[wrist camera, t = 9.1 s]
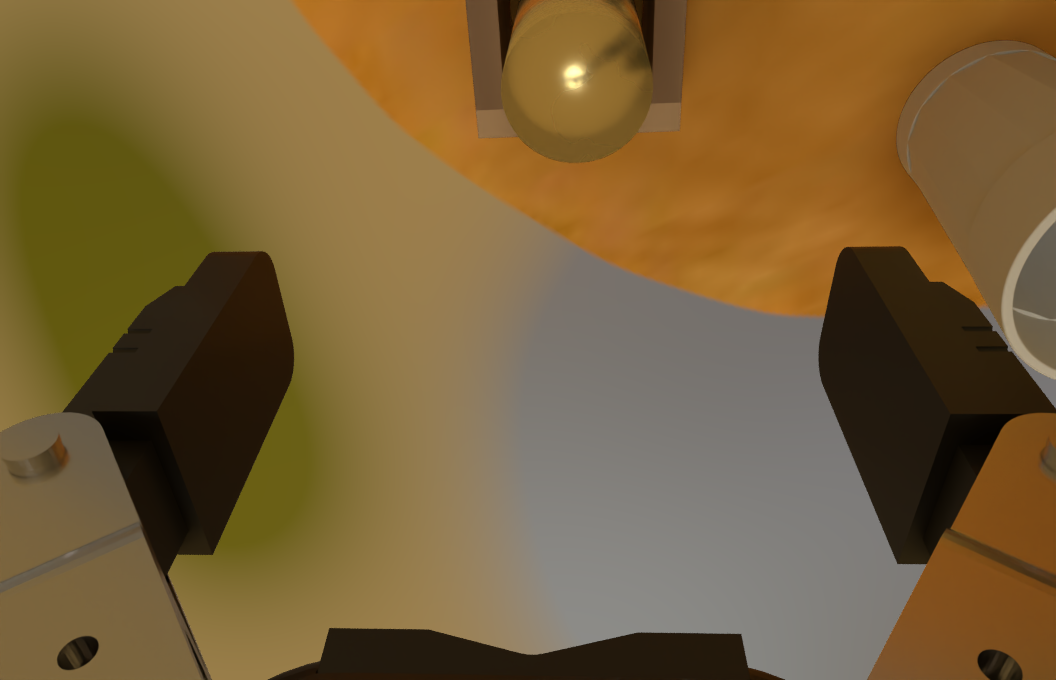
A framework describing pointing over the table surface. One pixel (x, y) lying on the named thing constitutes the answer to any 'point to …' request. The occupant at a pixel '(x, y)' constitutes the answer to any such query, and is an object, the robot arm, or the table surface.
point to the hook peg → (576, 77)
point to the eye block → (660, 38)
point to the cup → (994, 180)
